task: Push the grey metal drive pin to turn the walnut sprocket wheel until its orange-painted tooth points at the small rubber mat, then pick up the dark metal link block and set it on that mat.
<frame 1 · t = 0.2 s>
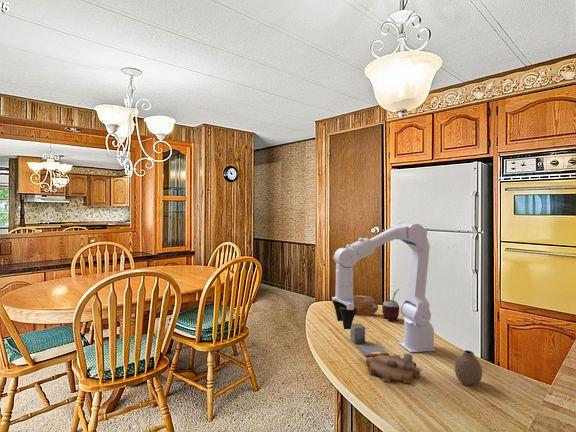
hand: (343, 324, 113), 10 cm above the table, tool pointing down, fingers open, 7 cm apart
mat: (372, 350, 116), on the table
tin: (360, 314, 156), on the table
sprocket wheel: (392, 360, 102), point 3 cm above the table, hinge at 50.0°
mate gourd: (391, 320, 148), on the table
vase: (467, 383, 96), on the table
link block: (357, 341, 123), on the table
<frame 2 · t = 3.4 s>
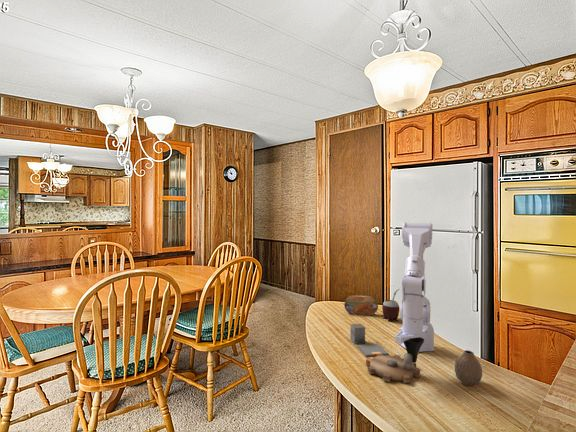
hand: (412, 361, 101), 3 cm above the table, tool pointing down, fingers closed, pressing on sprocket wheel
sprocket wheel: (392, 360, 102), point 3 cm above the table, hinge at 49.8°, touching gripper
everything else where it was.
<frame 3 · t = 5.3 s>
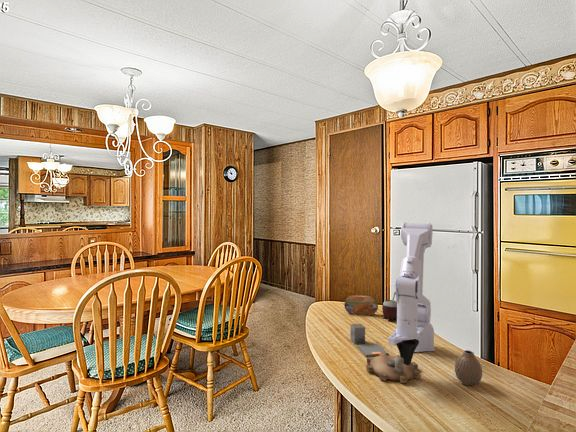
hand: (406, 363, 99), 3 cm above the table, tool pointing down, fingers closed
sprocket wheel: (392, 360, 102), point 3 cm above the table, hinge at -3.0°
everything else where it was.
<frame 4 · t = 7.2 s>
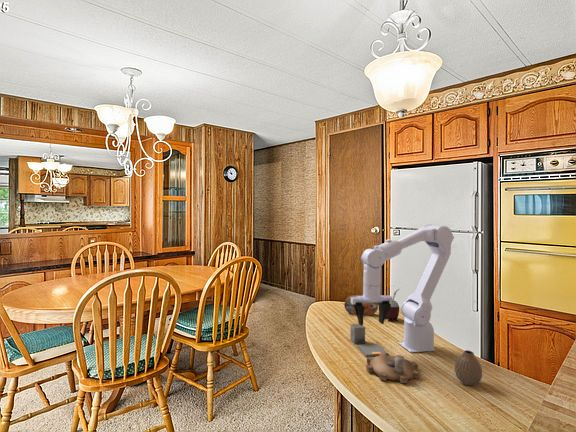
hand: (371, 323, 116), 9 cm above the table, tool pointing down, fingers open, 7 cm apart
nothing on the table moved.
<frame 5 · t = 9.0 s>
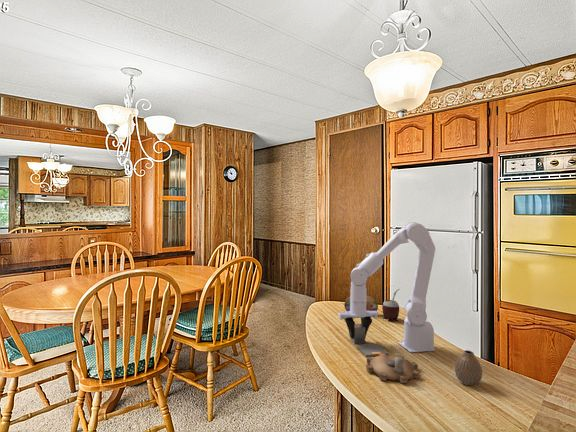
hand: (357, 337, 123), 2 cm above the table, tool pointing down, fingers closed on link block, 4 cm apart
link block: (357, 341, 123), on the table, touching gripper
everything else where it was.
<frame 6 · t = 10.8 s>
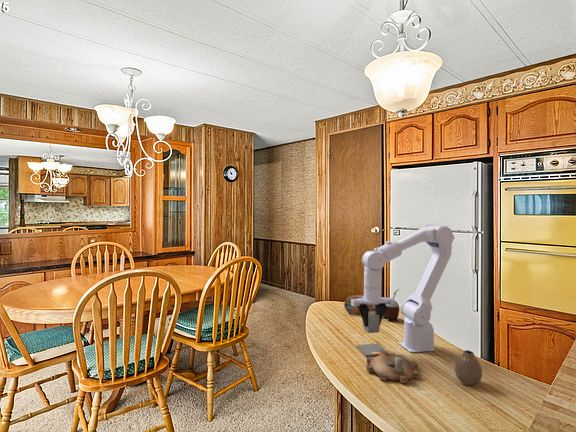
hand: (371, 325, 116), 9 cm above the table, tool pointing down, fingers closed on link block, 4 cm apart
link block: (371, 330, 116), point 7 cm above the table, touching gripper
everything else where it was.
when the fingers open (3 cm above the table, at t = 12.6 s): link block stays where it is, resting on mat.
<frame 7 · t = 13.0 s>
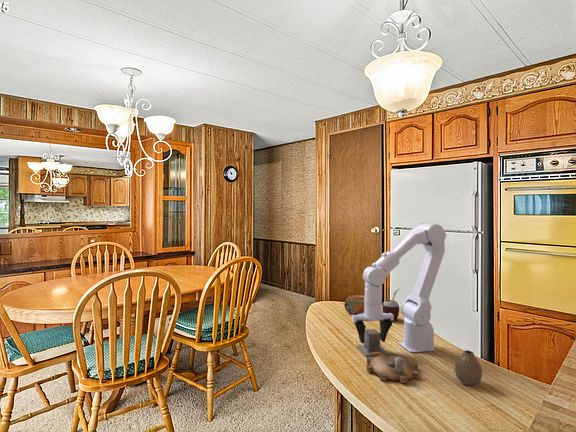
hand: (372, 341, 116), 3 cm above the table, tool pointing down, fingers open, 7 cm apart
link block: (371, 348, 116), point 1 cm above the table, touching mat
everything else where it was.
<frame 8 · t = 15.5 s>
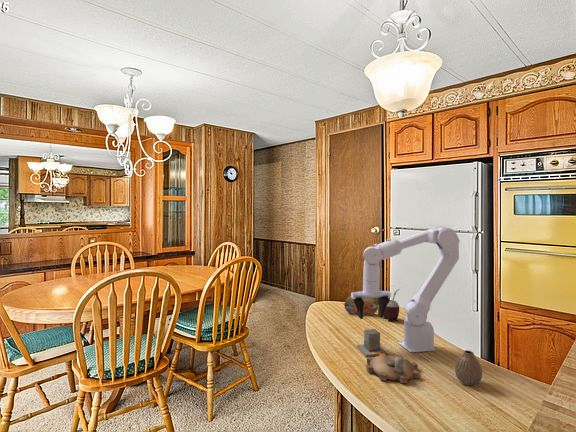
hand: (370, 317, 122), 9 cm above the table, tool pointing down, fingers open, 7 cm apart
nothing on the table moved.
at the end: sprocket wheel at -3° (first picture: +50°); link block 0.3 cm off-centre on the mat, point 0.6 cm above the mat's base; link block tilted 0° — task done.
